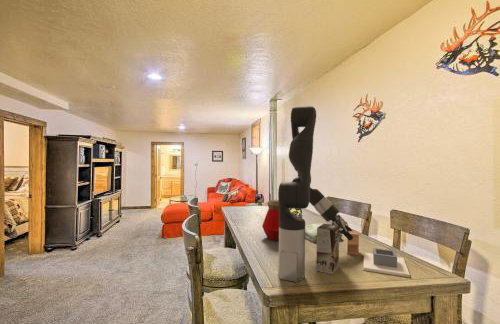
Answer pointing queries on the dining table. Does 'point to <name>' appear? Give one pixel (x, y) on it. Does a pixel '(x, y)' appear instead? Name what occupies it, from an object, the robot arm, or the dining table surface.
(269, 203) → the bottle
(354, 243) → the peg
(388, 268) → the socket stand
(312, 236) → the towel
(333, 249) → the coffee box
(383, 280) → the dining table surface
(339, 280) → the dining table surface
